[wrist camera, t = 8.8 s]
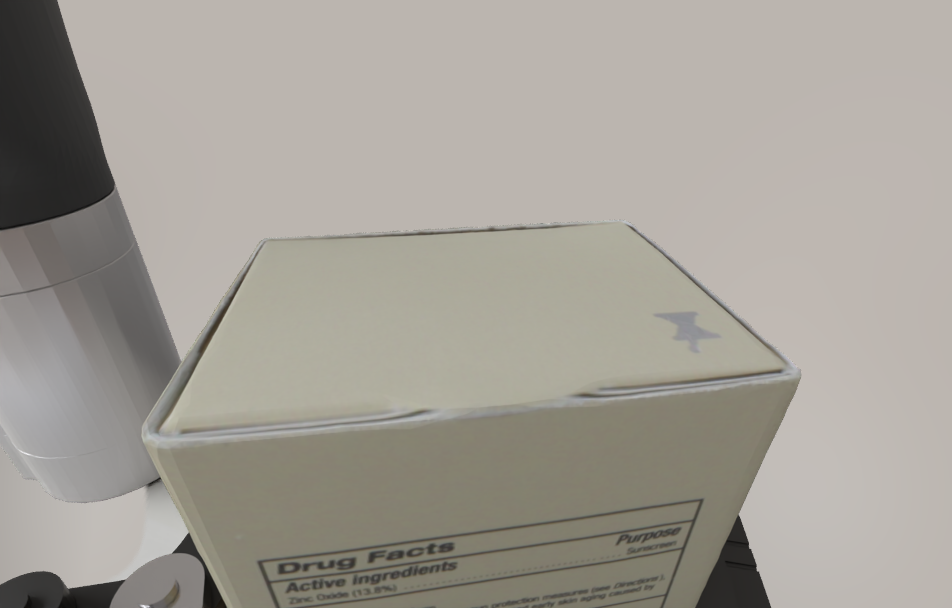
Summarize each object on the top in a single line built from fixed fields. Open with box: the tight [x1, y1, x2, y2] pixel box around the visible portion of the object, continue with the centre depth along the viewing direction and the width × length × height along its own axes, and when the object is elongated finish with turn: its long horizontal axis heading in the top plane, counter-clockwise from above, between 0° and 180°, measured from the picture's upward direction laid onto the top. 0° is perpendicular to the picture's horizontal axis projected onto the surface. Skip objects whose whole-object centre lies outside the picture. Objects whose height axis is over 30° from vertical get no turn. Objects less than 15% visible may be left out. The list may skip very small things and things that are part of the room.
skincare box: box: [141, 220, 801, 608], centre depth 9 cm, size 6×4×12 cm
